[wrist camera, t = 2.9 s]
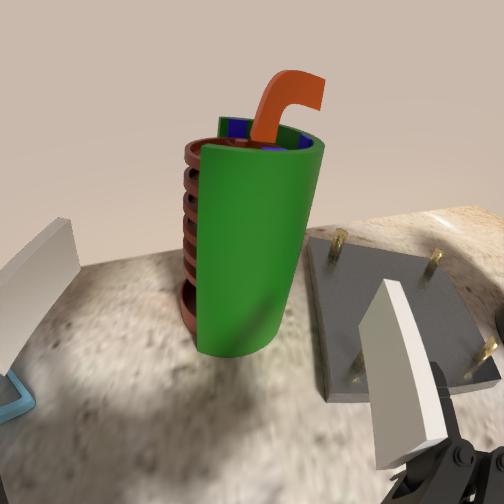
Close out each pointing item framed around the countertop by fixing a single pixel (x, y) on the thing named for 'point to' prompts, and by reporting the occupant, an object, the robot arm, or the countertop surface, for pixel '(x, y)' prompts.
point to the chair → (19, 405)
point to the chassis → (422, 307)
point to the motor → (248, 219)
